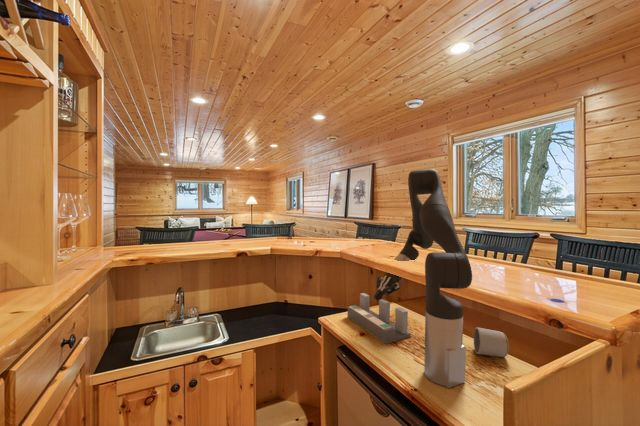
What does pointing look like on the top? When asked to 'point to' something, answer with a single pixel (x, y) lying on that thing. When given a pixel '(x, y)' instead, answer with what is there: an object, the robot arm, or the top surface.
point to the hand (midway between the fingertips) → (376, 299)
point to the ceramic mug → (490, 342)
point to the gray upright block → (384, 311)
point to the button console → (375, 325)
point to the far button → (365, 302)
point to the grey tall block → (401, 320)
